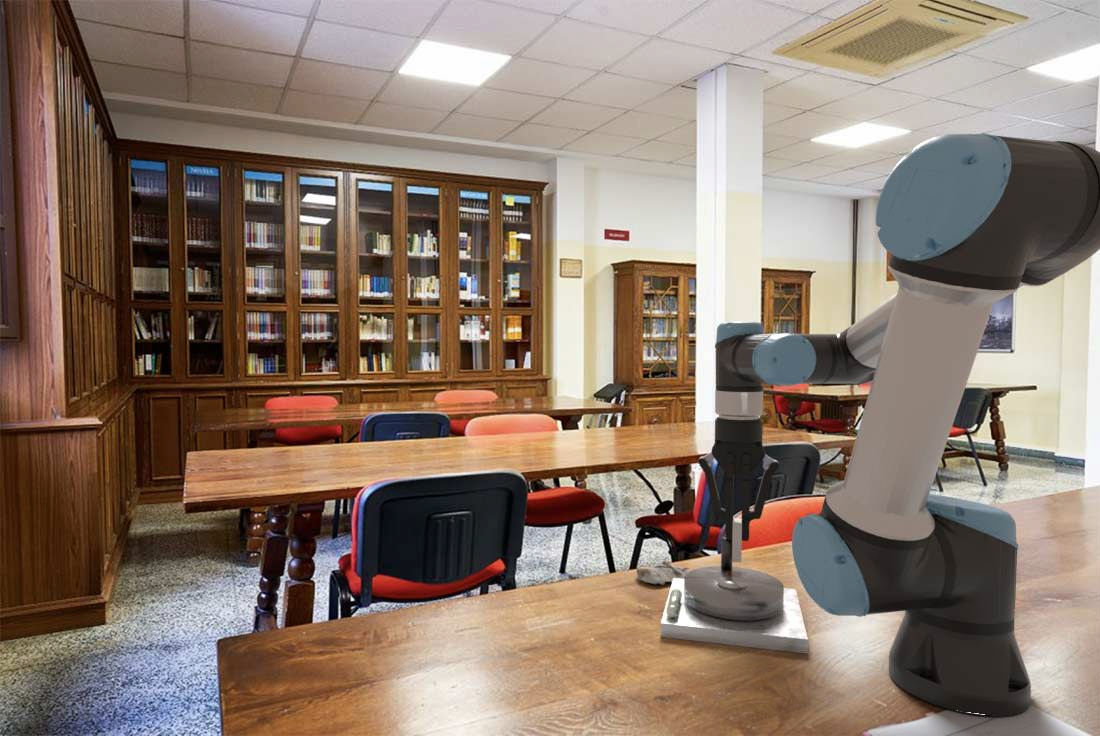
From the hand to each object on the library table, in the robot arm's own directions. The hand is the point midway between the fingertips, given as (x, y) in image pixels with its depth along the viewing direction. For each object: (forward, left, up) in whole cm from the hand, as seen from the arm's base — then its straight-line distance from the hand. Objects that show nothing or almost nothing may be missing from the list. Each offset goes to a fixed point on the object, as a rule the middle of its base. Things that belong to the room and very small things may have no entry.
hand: (736, 559), depth 111 cm
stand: (-7, 0, -7) cm, 10 cm away
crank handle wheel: (-6, 0, -5) cm, 8 cm away
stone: (+8, +13, -8) cm, 17 cm away
